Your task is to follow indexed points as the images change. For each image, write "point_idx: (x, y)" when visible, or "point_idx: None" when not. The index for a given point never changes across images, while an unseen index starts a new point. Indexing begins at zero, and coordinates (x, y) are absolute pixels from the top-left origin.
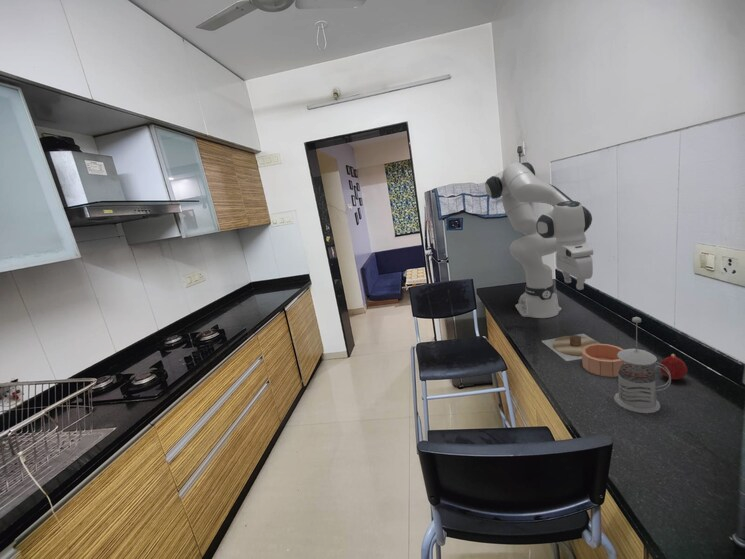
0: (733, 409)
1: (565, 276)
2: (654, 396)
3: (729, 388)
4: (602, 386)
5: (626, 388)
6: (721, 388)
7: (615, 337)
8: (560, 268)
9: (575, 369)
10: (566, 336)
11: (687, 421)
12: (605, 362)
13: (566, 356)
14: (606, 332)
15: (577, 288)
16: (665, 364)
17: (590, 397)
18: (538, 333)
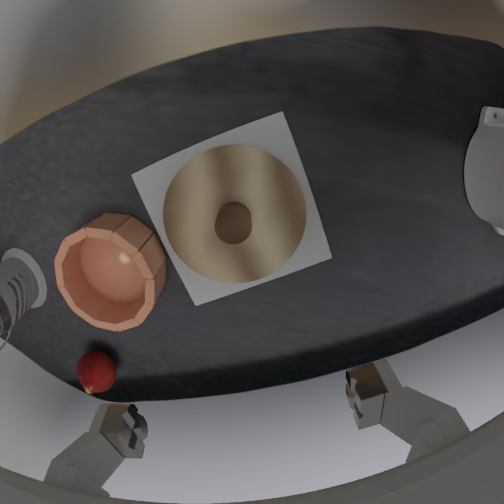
0: (54, 374)
1: (398, 409)
2: (7, 307)
3: (103, 396)
4: (44, 238)
5: (31, 277)
6: None
7: (299, 326)
8: (474, 457)
9: (97, 193)
10: (301, 201)
11: None
12: (56, 271)
13: (160, 178)
14: (335, 313)
15: (107, 406)
16: (81, 366)
17: (9, 209)
18: (355, 116)
